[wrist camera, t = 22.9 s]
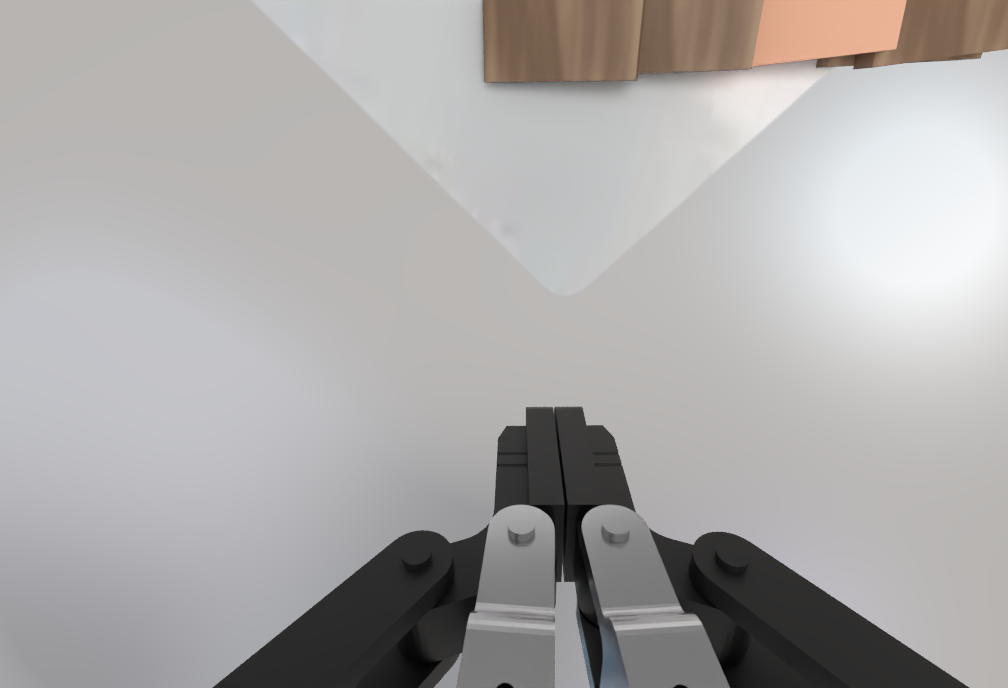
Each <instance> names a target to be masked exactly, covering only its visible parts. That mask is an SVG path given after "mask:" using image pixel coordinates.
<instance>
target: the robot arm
mask: <svg viewBox="0 0 1008 688" xmlns="http://www.w3.org/2000/svg"><path fill="white" fill-rule="evenodd" d="M495 490H496V491H495V509H494V515H493V517H492V519H491V521H490V523H489V524H488V525H487V527H486V528H484V529H483V530H482V531H481V532H479V533H478V534H476V535H474V536H472V537H470V538H467V539H464V540H460V541H457V542H453V543H449V542H448V541H447V539H445V538H444V537H443V536H442V535H440V534H438V533H435V532H432V531H423V530H422V531H414V532H410V533H407V534H405V535H403V536H401V537H399V538H398V539H396V540H395V541H394V542H392V543H391V544H390V545H389V546H387V547H386V548H385V549H384V550H382V551H381V552H380V553H379V554H378V555H376V556H375V557H374V558H373V559H371V560H370V561H369V562H368V563H367V564H365V565H364V566H363V567H361V568H360V569H359V570H358V571H356V572H355V573H354V574H353V575H352V576H350V577H349V578H348V579H347V580H345V581H344V582H343V583H342V584H340V585H339V586H338V587H337V588H335V589H334V590H333V591H332V592H331V593H329V594H328V595H327V596H325V597H324V598H323V599H322V600H321V601H319V602H318V603H317V604H316V605H314V606H313V607H312V608H311V609H309V610H308V611H307V612H306V613H304V614H303V615H302V616H301V617H300V618H298V619H297V620H296V621H295V622H293V623H292V624H291V625H290V626H288V627H287V628H286V629H285V630H283V631H282V632H281V633H280V634H279V635H277V636H276V637H275V638H273V639H272V640H271V641H270V642H269V643H267V644H266V645H265V646H264V647H262V648H261V649H260V650H259V651H257V652H256V653H255V654H254V655H252V656H251V657H250V658H249V659H247V660H246V661H245V662H244V663H243V664H241V665H240V666H239V667H238V668H236V669H235V670H234V671H233V672H231V673H230V674H229V675H228V676H226V677H225V678H224V679H223V680H222V681H220V682H219V683H218V684H217V685H215V686H214V687H213V688H434V687H435V685H436V684H437V683H438V682H439V681H440V680H441V678H442V677H443V676H444V675H445V674H446V673H447V672H448V670H449V669H450V668H451V667H452V666H453V664H454V663H455V662H456V660H457V658H458V657H459V654H460V653H462V657H461V663H460V669H459V675H458V680H457V686H456V688H555V617H554V609H555V604H556V582H561V576H562V564H563V574H564V582H575V586H576V593H577V604H576V618H577V623H578V628H579V634H580V639H581V643H582V649H583V654H584V659H585V664H586V669H587V674H588V680H589V685H590V688H969V687H967V686H966V685H964V684H963V683H961V682H960V681H958V680H957V679H955V678H954V677H952V676H951V675H949V674H948V673H946V672H945V671H943V670H941V669H940V668H939V667H937V666H936V665H934V664H932V663H931V662H930V661H928V660H927V659H925V658H924V657H922V656H921V655H919V654H918V653H916V652H915V651H913V650H912V649H910V648H909V647H907V646H905V645H904V644H903V643H901V642H900V641H898V640H896V639H895V638H894V637H892V636H890V635H889V634H888V633H886V632H885V631H883V630H882V629H880V628H878V627H877V626H876V625H874V624H872V623H871V622H870V621H868V620H867V619H865V618H863V617H862V616H860V615H859V614H858V613H856V612H855V611H853V610H851V609H850V608H848V607H847V606H845V605H844V604H842V603H841V602H839V601H838V600H836V599H835V598H833V597H831V596H830V595H829V594H827V593H826V592H824V591H823V590H821V589H820V588H818V587H817V586H815V585H814V584H812V583H811V582H809V581H808V580H806V579H805V578H803V577H802V576H800V575H799V574H797V573H796V572H794V571H793V570H791V569H790V568H788V567H787V566H785V565H784V564H782V563H781V562H779V561H778V560H776V559H775V558H773V557H772V556H770V555H769V554H767V553H766V552H764V551H762V550H761V549H759V548H758V547H757V546H755V545H754V544H752V543H751V542H749V541H747V540H746V539H744V538H741V537H739V536H737V535H734V534H730V533H726V532H711V533H707V534H704V535H702V536H701V537H699V538H698V539H697V540H696V542H695V544H694V545H692V544H688V543H684V542H680V541H677V540H672V539H670V538H666V537H664V536H661V535H659V534H657V533H656V532H654V531H652V530H651V529H650V528H649V527H648V526H647V524H646V522H645V521H644V519H643V518H642V517H641V516H639V515H638V514H637V513H636V511H635V509H634V505H633V502H632V498H631V495H630V491H629V488H628V484H627V481H626V477H625V474H624V470H623V467H622V466H621V460H620V456H619V455H618V449H617V446H616V443H615V439H614V437H613V436H612V435H611V434H610V433H609V432H608V431H607V430H606V429H605V428H604V426H602V425H599V426H598V425H594V426H593V425H592V426H586V422H585V417H584V412H583V409H582V407H555V409H554V412H553V407H526V426H506V428H505V429H504V431H503V432H502V434H501V435H500V436H499V438H498V451H497V471H496V489H495Z"/></svg>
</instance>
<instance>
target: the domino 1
mask: <svg viewBox="0 0 1008 688" xmlns="http://www.w3.org/2000/svg"><path fill="white" fill-rule="evenodd" d="M645 1H646V0H483V32H484V79H485V82H493V83H497V82H569V81H637V78H638V68H639V59H640V49H641V39H642V30H643V20H644V10H645Z"/></svg>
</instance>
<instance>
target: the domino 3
mask: <svg viewBox="0 0 1008 688" xmlns="http://www.w3.org/2000/svg"><path fill="white" fill-rule="evenodd" d="M906 2H907V0H764V2H763V8H762V14H761V19H760V25H759V31H758V36H757V42H756V48H755V53H754V59H753V65H752V66H761V65H769V64H778V63H786V62H795V61H803V60H812V59H820V58H828V57H837V56H845V55H854V54H862V53H871V52H879V51H888V50H894V49H896V48H897V43H898V38H899V34H900V29H901V25H902V20H903V15H904V11H905V6H906Z"/></svg>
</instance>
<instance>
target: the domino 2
mask: <svg viewBox="0 0 1008 688" xmlns="http://www.w3.org/2000/svg"><path fill="white" fill-rule="evenodd" d="M763 2H764V0H646V1H645V10H644V20H643V30H642V39H641V49H640V59H639V68H638V74H648V73H675V72H701V71H728V70H748V69H752V65H753V59H754V53H755V48H756V42H757V36H758V31H759V25H760V19H761V14H762V8H763Z"/></svg>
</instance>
